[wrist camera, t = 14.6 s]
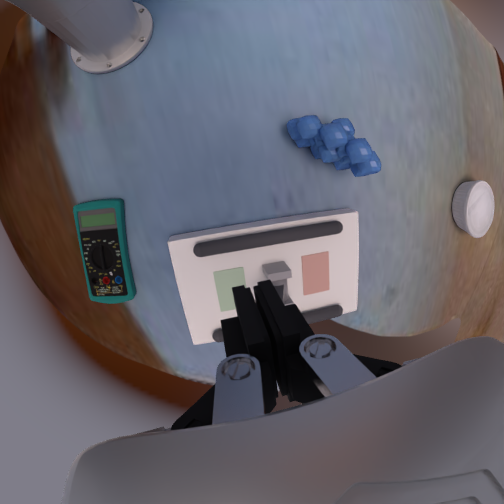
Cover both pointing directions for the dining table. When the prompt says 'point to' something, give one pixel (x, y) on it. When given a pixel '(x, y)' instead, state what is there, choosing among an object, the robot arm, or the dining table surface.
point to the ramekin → (473, 207)
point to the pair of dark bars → (273, 239)
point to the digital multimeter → (104, 250)
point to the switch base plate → (267, 269)
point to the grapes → (335, 144)
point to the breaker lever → (281, 289)
